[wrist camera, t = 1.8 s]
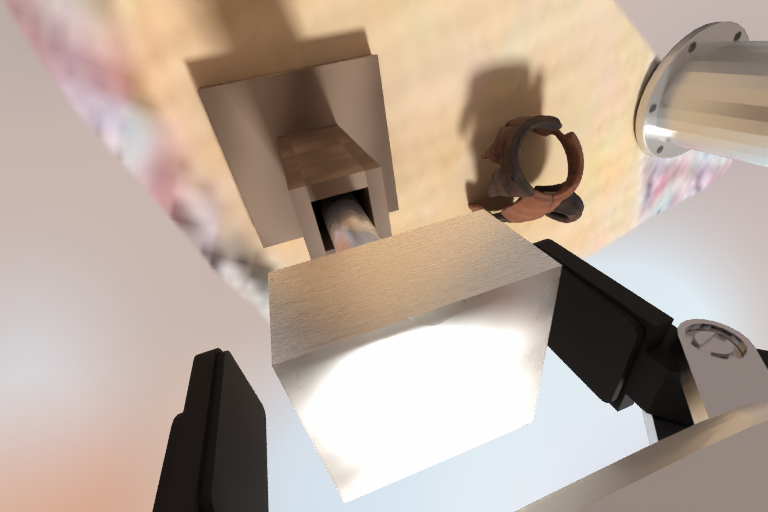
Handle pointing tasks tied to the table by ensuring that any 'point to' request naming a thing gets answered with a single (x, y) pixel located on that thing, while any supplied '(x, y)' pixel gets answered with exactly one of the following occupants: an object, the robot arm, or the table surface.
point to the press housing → (306, 147)
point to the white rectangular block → (410, 341)
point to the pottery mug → (511, 182)
